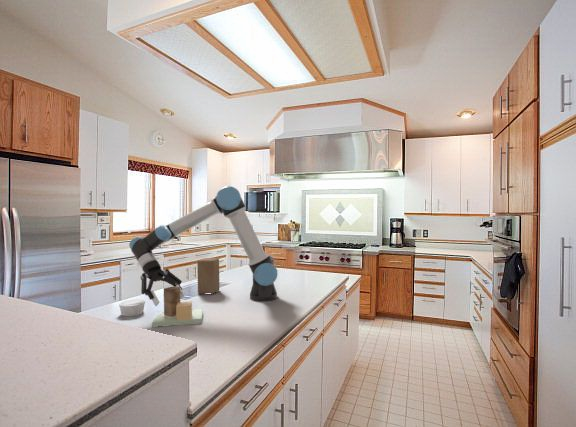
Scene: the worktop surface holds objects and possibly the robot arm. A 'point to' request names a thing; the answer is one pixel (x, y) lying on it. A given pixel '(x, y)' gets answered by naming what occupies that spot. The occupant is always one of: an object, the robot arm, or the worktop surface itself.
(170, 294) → the pillar
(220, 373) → the worktop surface
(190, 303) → the cube
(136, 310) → the ramekin
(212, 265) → the block
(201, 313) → the board
